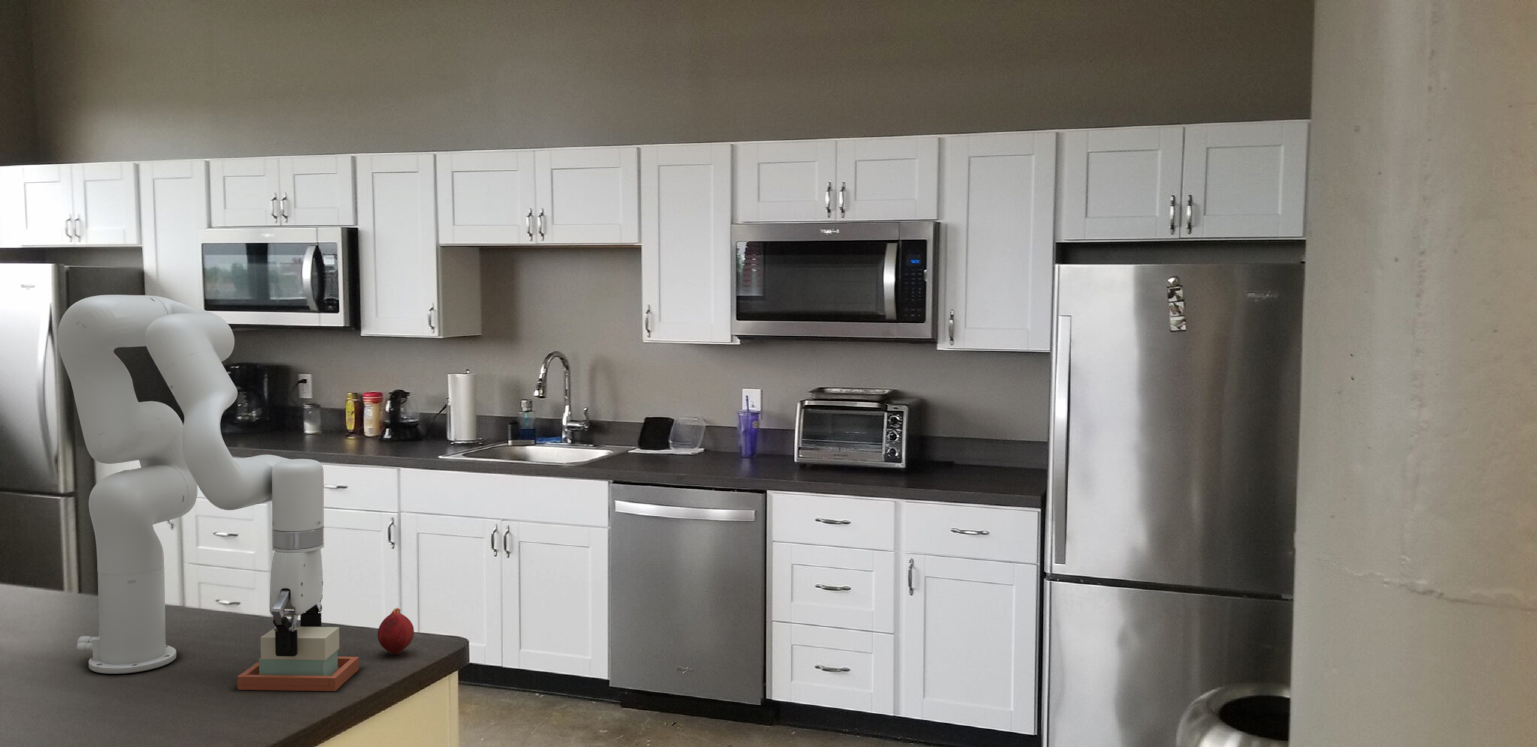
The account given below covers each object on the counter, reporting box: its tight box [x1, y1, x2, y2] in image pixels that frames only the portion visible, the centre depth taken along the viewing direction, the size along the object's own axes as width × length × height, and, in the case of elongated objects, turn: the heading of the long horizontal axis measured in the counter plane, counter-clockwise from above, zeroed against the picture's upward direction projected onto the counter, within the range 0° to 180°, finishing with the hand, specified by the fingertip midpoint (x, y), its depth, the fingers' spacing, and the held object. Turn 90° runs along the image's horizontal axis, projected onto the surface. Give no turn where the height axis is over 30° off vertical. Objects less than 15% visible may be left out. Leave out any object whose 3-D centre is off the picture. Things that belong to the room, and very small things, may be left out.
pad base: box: [258, 649, 339, 676], centre depth 183 cm, size 10×6×4 cm, turn 90°
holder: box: [236, 655, 360, 692], centre depth 183 cm, size 15×10×2 cm
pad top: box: [260, 626, 340, 660], centre depth 182 cm, size 10×6×4 cm, turn 90°
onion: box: [376, 607, 415, 656], centre depth 195 cm, size 6×6×8 cm
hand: (299, 646), depth 182 cm, fingers open, 9 cm apart
